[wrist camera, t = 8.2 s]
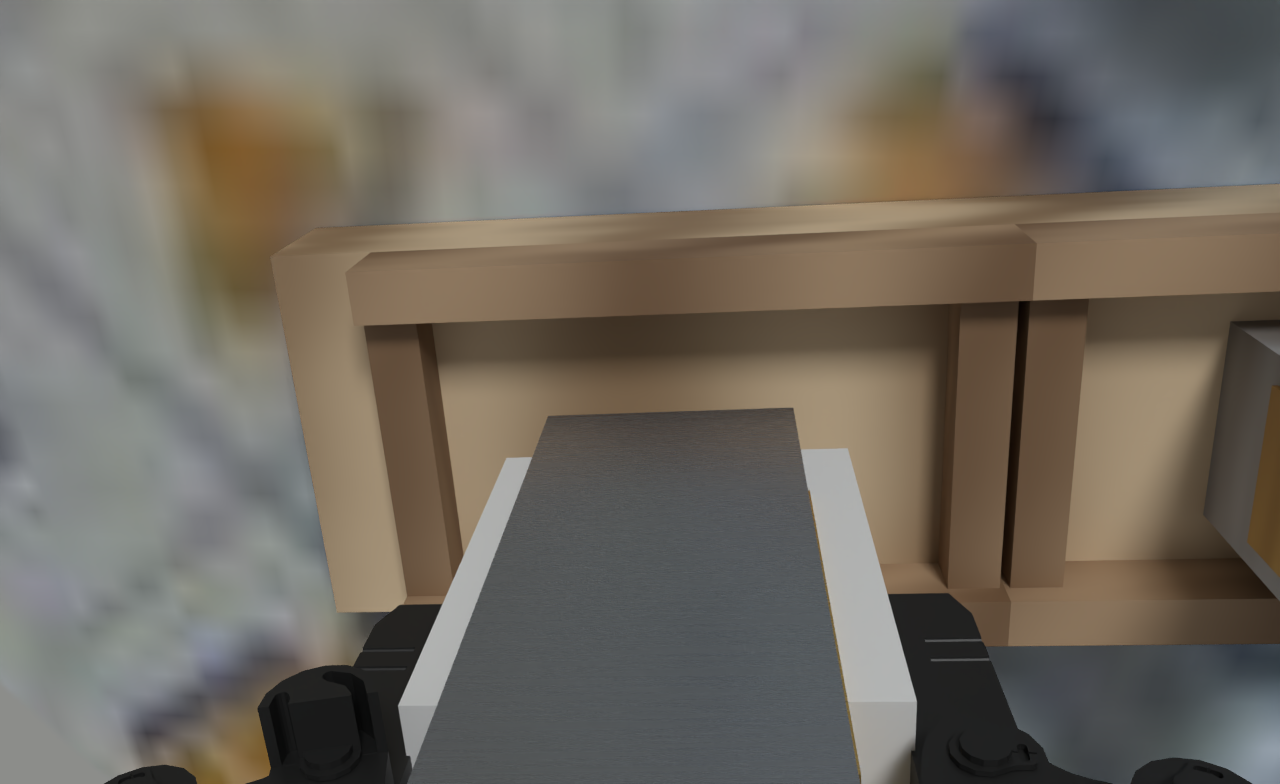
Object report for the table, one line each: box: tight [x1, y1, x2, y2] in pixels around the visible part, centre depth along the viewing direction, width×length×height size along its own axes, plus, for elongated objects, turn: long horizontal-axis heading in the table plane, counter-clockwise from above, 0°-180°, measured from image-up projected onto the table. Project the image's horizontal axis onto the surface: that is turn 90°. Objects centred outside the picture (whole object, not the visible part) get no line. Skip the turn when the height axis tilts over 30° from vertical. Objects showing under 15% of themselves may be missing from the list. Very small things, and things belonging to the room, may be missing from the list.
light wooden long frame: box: [270, 184, 1280, 646], centre depth 18 cm, size 28×8×12 cm, turn 93°
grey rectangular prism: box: [407, 408, 861, 784], centre depth 14 cm, size 4×4×9 cm
